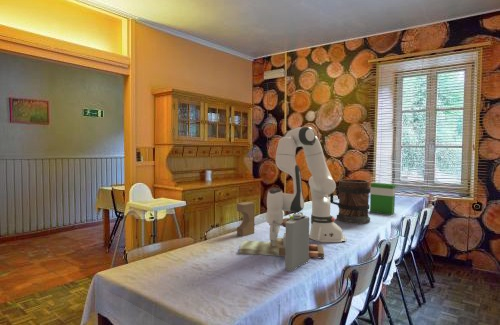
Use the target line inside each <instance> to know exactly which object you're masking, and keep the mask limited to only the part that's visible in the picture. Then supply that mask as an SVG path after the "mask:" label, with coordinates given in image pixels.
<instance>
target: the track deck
mask: <svg viewBox="0 0 500 325" xmlns="http://www.w3.org/2000/svg"><path fill="white" fill-rule="evenodd" d="M239 254H247V255H249V254H250V255H264V256H278V257H281V256H282V257H285V249H283V248H272V247H270V241H258V240H256V241H255V240H243V241H242V244H241V245H240V247H239ZM310 257H324V258H325V251H324V245H323V244H314V243H313V244H312V243H311V244H310V243H309V258H310Z"/></svg>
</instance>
